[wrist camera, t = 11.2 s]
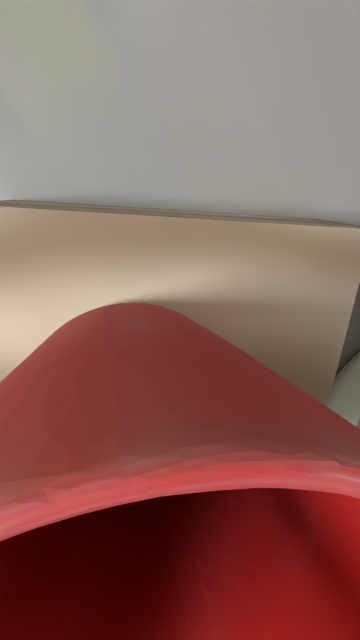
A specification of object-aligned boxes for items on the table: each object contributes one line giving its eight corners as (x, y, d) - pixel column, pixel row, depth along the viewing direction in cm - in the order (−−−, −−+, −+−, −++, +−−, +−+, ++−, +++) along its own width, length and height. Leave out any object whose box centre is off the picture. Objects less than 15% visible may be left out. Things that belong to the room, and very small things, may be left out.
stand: (10, 199, 15) (-35, 204, 11) (320, 219, 16) (373, 229, 13) (37, 459, 20) (12, 523, 16) (272, 453, 21) (300, 510, 18)
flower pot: (-77, 297, 11) (-886, 775, 2) (248, 229, 12) (624, 351, 3) (33, 521, 15) (-79, 1004, 6) (268, 455, 16) (457, 782, 7)
